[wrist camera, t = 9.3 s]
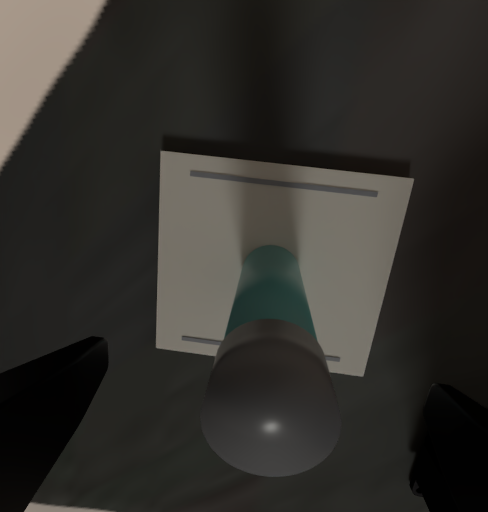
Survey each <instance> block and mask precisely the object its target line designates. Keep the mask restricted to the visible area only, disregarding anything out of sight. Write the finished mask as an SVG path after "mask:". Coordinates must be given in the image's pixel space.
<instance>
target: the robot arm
mask: <svg viewBox="0 0 488 512" xmlns="http://www.w3.org/2000/svg"><path fill="white" fill-rule="evenodd" d="M107 369H108V341H107V339H106V338H102V337H95V336H91V337H89V338H86V339H84V340H81V341H79V342H76V343H74V344H71V345H69V346H67V347H64V348H62V349H59V350H57V351H54V352H52V353H49V354H47V355H44V356H42V357H39V358H37V359H35V360H32V361H30V362H27V363H25V364H22V365H20V366H17V367H15V368H12V369H10V370H8V371H5V372H3V373H0V512H24V511H25V509H26V508H27V506H28V504H29V503H30V501H31V500H32V498H33V497H34V495H35V493H36V492H37V490H38V489H39V487H40V486H41V484H42V483H43V481H44V479H45V478H46V476H47V475H48V473H49V472H50V470H51V468H52V467H53V465H54V464H55V462H56V461H57V459H58V457H59V456H60V454H61V453H62V451H63V450H64V448H65V446H66V445H67V443H68V442H69V440H70V439H71V437H72V435H73V434H74V432H75V431H76V429H77V427H78V426H79V424H80V423H81V421H82V419H83V417H84V415H85V413H86V411H87V409H88V407H89V405H90V403H91V401H92V399H93V397H94V395H95V393H96V391H97V389H98V387H99V386H100V384H101V382H102V380H103V378H104V376H105V374H106V371H107ZM423 415H424V419H425V422H426V425H427V428H428V433H427V436H426V439H425V442H424V443H423V445H422V447H421V450H420V453H419V456H418V459H417V462H416V464H415V467H414V470H413V475H412V478H411V481H410V488H411V490H412V492H413V494H414V495H416V496H420V497H424V500H425V502H426V504H427V506H428V509H429V511H430V512H488V409H486V408H485V407H483V406H482V405H480V404H479V403H477V402H475V401H474V400H472V399H471V398H469V397H468V396H466V395H465V394H463V393H461V392H460V391H458V390H457V389H455V388H454V387H452V386H450V385H445V384H438V383H435V384H432V386H431V387H430V390H429V393H428V396H427V398H426V401H425V404H424V408H423Z"/></svg>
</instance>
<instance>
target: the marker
mask: <svg viewBox="0 0 488 512" xmlns="http://www.w3.org/2000/svg"><path fill="white" fill-rule="evenodd" d="M201 427H202V430H203V434H204V436H205V438H206V440H207V442H208V444H209V445H210V447H211V448H212V449H213V450H214V451H215V453H216V454H217V455H218V456H220V457H221V458H222V459H223V460H224V461H226V462H227V463H229V464H230V465H232V466H234V467H236V468H238V469H240V470H242V471H245V472H248V473H251V474H255V475H260V476H268V477H281V476H289V475H295V474H298V473H301V472H304V471H306V470H309V469H311V468H313V467H314V466H316V465H318V464H319V463H320V462H322V461H323V460H324V459H325V458H326V457H327V456H328V455H329V454H330V453H331V452H332V450H333V449H334V447H335V446H336V444H337V442H338V439H339V436H340V432H341V415H340V410H339V406H338V403H337V399H336V395H335V391H334V388H333V384H332V380H331V377H330V373H329V369H328V365H327V362H326V358H325V355H324V352H323V350H322V348H321V346H320V344H319V343H318V341H317V337H316V333H315V329H314V325H313V321H312V317H311V313H310V309H309V305H308V301H307V297H306V293H305V289H304V285H303V281H302V277H301V273H300V269H299V265H298V262H297V260H296V258H295V257H294V256H293V254H292V253H291V252H289V251H288V250H287V249H285V248H283V247H280V246H276V245H265V246H261V247H259V248H257V249H255V250H253V251H252V252H251V253H250V254H249V255H248V256H247V258H246V259H245V261H244V264H243V267H242V271H241V275H240V278H239V282H238V286H237V290H236V294H235V298H234V302H233V305H232V309H231V313H230V317H229V321H228V325H227V328H226V332H225V336H224V340H223V341H222V342H221V344H220V346H219V348H218V350H217V353H216V357H215V360H214V364H213V368H212V371H211V375H210V378H209V382H208V386H207V389H206V393H205V396H204V400H203V404H202V408H201Z"/></svg>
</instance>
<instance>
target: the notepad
mask: <svg viewBox="0 0 488 512" xmlns="http://www.w3.org/2000/svg"><path fill="white" fill-rule="evenodd" d="M413 182H414V179H412V178H405V177H396V176H387V175H377V174H368V173H359V172H350V171H341V170H332V169H323V168H314V167H305V166H296V165H287V164H278V163H269V162H260V161H251V160H242V159H233V158H223V157H214V156H205V155H196V154H187V153H178V152H169V151H161V161H160V202H159V244H158V285H157V326H156V348H161V349H168V350H175V351H182V352H189V353H196V354H204V355H211V356H216V353H217V350H218V348H219V346H220V344H221V342H222V341H223V340H224V336H225V332H226V328H227V325H228V321H229V317H230V313H231V309H232V305H233V302H234V298H235V294H236V290H237V286H238V282H239V278H240V275H241V271H242V267H243V264H244V261H245V259H246V258H247V256H248V255H249V254H250V253H251V252H252V251H253V250H255V249H257V248H259V247H261V246H265V245H276V246H280V247H283V248H285V249H287V250H288V251H289V252H291V253H292V254H293V256H294V257H295V258H296V260H297V262H298V265H299V269H300V273H301V277H302V281H303V285H304V289H305V293H306V297H307V301H308V305H309V309H310V313H311V317H312V321H313V325H314V329H315V333H316V337H317V341H318V343H319V344H320V346H321V348H322V350H323V352H324V355H325V358H326V362H327V365H328V369H329V372H333V373H340V374H347V375H355V376H362V377H363V375H364V371H365V368H366V364H367V360H368V356H369V352H370V348H371V344H372V340H373V337H374V333H375V329H376V325H377V321H378V317H379V313H380V310H381V306H382V302H383V298H384V294H385V290H386V286H387V282H388V279H389V275H390V271H391V267H392V263H393V259H394V255H395V252H396V248H397V244H398V240H399V236H400V232H401V228H402V224H403V221H404V217H405V213H406V209H407V205H408V201H409V197H410V194H411V190H412V186H413Z"/></svg>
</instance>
